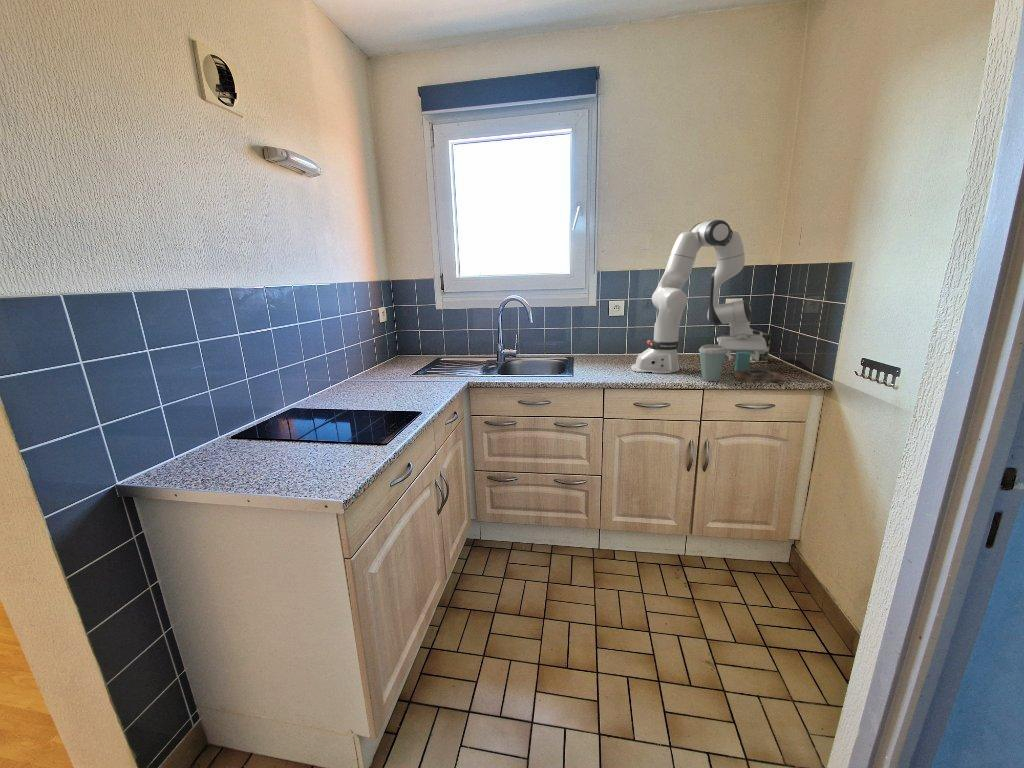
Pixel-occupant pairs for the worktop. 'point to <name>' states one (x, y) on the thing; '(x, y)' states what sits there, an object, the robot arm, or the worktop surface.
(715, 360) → the disposable coffee cup
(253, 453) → the worktop surface
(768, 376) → the base board
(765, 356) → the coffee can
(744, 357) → the pillar
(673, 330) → the robot arm
